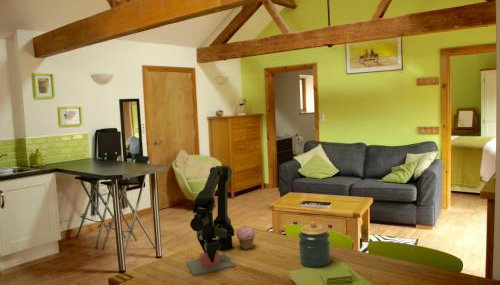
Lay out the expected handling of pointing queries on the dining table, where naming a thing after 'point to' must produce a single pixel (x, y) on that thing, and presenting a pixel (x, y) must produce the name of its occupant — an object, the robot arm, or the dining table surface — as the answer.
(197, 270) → the mat
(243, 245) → the cupcake
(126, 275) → the dining table surface
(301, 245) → the canister
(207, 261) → the red block
